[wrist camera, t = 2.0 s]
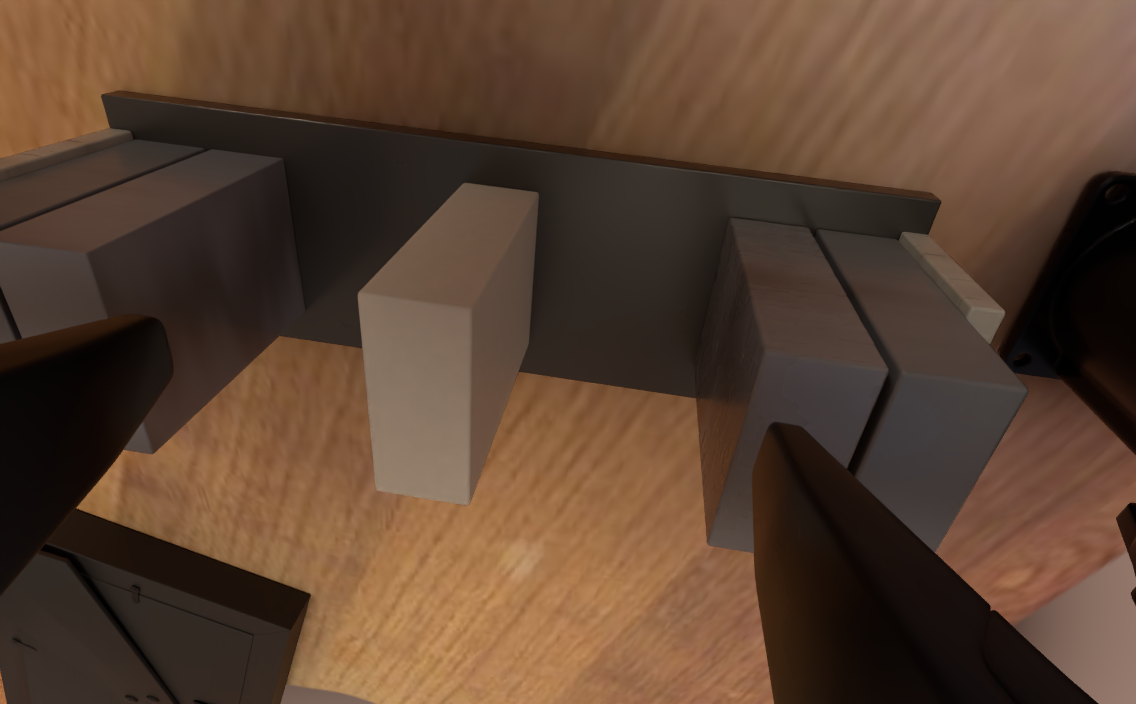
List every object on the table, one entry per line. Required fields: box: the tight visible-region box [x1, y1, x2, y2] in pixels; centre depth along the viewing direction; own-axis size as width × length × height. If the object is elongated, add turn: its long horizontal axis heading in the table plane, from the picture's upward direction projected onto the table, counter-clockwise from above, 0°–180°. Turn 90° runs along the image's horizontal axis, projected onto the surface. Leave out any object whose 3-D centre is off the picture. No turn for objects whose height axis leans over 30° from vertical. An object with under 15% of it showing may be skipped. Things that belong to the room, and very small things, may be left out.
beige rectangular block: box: [358, 183, 539, 505], centre depth 17 cm, size 6×2×8 cm, turn 175°
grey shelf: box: [0, 91, 1028, 553], centre depth 18 cm, size 8×26×9 cm, turn 85°
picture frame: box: [0, 510, 310, 704], centre depth 36 cm, size 16×3×21 cm
